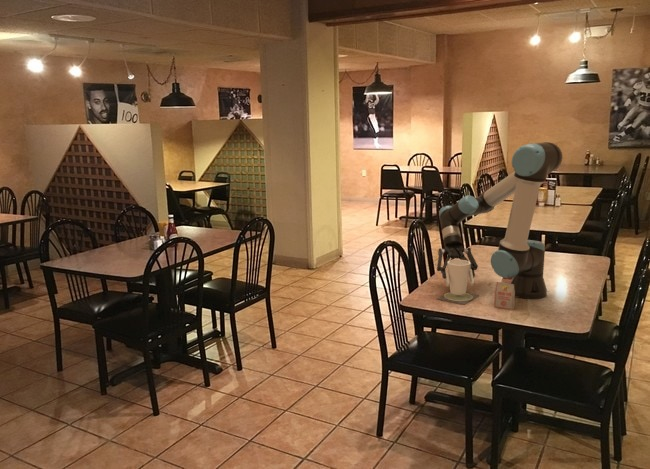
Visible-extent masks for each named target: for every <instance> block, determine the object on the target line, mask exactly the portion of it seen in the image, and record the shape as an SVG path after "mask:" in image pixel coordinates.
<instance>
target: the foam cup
mask: <svg viewBox="0 0 650 469" xmlns="http://www.w3.org/2000/svg"><path fill="white" fill-rule="evenodd" d="M470 268H471V263H470V260H468V261H466V260H460V259H450V260H449V261H448V262H447V266H446V269H447V271H448V277H449V290H450V291H449V292H451V293H452V294H455V295H463V294H465V293H467V290H468V289H467V288H468V282H469V279H470V278H469V272H470Z"/></svg>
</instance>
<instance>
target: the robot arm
mask: <svg viewBox="0 0 650 469" xmlns="http://www.w3.org/2000/svg"><path fill="white" fill-rule="evenodd" d="M563 157H564V156H563V152H562V150H561V148H560V147H559V146H558V145H557V144H555V143H553V142H551V141H550V142H548V141H546V142H537V143H535V142H534V143H527V144H524V145H522V146H520V147H518V148H517V149H516V150H515V151H514V153H513V155H512V158H511V167H512V168H513V172H512V173H510V174H509V175H507V176H506V177H505V178H503V179H501V180H500V181H499V182H497V183H496V184H495V185H493V186H491V187H490V188H489V189H487V190H486V191H485V192H483V193H481V194H480V195H479V196H477V197H475V196H473V195H470V194H469V195H468V194H467V195H465V196H464V197H462V198H460V199H459V201H457V202H456V203H455V204H454V205H453V206H452V205H445V206H442V207H441V208H440V209H439V211H438V216H439V217H438V218H439V222H440V227H441V228H440V229H441V233H442V239H443V246H444V248H438V250H437V253H438V254H437V255H438V259H437V260H438V261H437V266H436V267H437V268H436V271H437V272H441V274H442V279H445V280H444V281H445V286H446V287H450V283H449V274H448V269H447V262H448V261H449V260H451V259H458V260H466V261H469V262H470V263H471V268H470V272H469V278H468V279H469V283H470V286H471V287H472V286H474V284H475V280H474V278H475V277H476V273H475V271H477V269H478V267H479V265H478V264H477V261H476V259H475V257H474V256H473V253H472V250H471V249H472V248H471V247H468V248H464V246H463V242H462V237H461V231H460V227H459V224H460V223H461V222H463V221H464V220H465V219H466V218H468V217H471V216H477V215H481V214H487V213H490V212H492V211H493V210H494V209H495V207H496V206H497V205H498V204H501V203H502V202H503V201H505V200H506V199H508V198H509V197H511V196H513V198H512V203H511V207H510V208H511V209H510V212H509V217H508V222H507V226H506V231H505V235H504V238H502V239H501V240H499V245H498V248H497V250H496V251H494V252H493V253H492V254H491V257H490V266H491V268H492V269H493V272H494V273H495V274H496V275H497V276H499V277H501V278H504V279H508V278H512V279H511V281H510V284H514V290H515V298H516V297H517V298H522V299H531V300H533V299H535V300H536V299H542V298H545V297H547V294H548V293H547V291H548V289H547V286H546V282H545V280H544V269H545V268H544V267H545V253H546V250H545V249H546V248H545V244H544V242H542V241H539V240H534V239H532V240H531V239H529V235H530V230H531V226H532V223H533V222H532V221H533V218H534V214H535V210H536V205H537V200H538V197H539V193H540V189H541V186H542V184H544V183H546V180H547V176H548V175H549V174H551V173H553V172H554V171H556V170H557V169H558V168H559V167H560V166H561V164H562V161H563ZM444 254H446V259H445V262H444V263H443V265H442V261H443V260H442V259H443V255H444ZM465 255H466V256H467V257H466V256H465Z"/></svg>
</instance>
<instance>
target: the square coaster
mask: <svg viewBox="0 0 650 469" xmlns="http://www.w3.org/2000/svg"><path fill="white" fill-rule="evenodd" d="M479 296H480V295H479V294H476V293H471V292H466V293H465V294H463V295H455V294H452V293H451V292H450V291H447V293H444V294H443V295H440V296H438V297H437V299H436V300H437V301H438V300H439V301H443V302H447V303H453V304H458V305H462V306H464V305H466V304H468V303H471V302H472V301H473V300H474V299H477V298H478V297H479Z"/></svg>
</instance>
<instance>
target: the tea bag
mask: <svg viewBox="0 0 650 469" xmlns="http://www.w3.org/2000/svg"><path fill="white" fill-rule="evenodd" d="M515 298H516V296H515V290H514V284H511V283H507V282H499V281H496V284H495V291H494V306H493V307H494V308H497V309H503V310H508V311H509V310H510V311H512V310H513V309H514V308H515V301H516V300H515Z"/></svg>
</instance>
